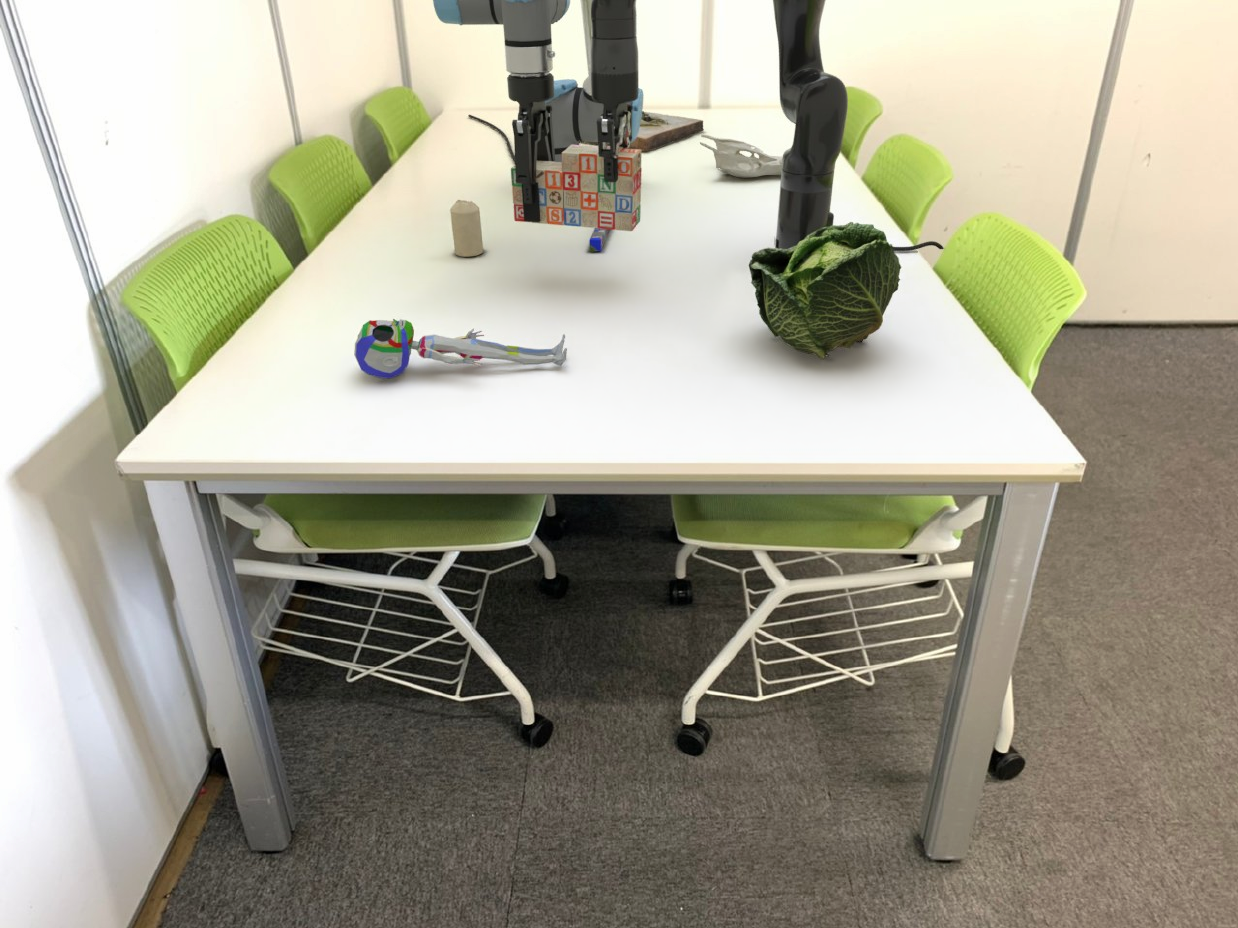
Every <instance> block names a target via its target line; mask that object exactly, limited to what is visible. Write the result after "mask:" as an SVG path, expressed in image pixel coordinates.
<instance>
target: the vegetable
mask: <svg viewBox="0 0 1238 928" xmlns="http://www.w3.org/2000/svg"><path fill="white" fill-rule="evenodd" d="M894 247H895V246H894V245H893V243H889V241H888V239H887V235H886V232H884V231H883V230H880V229H878V228H876V227H875V225H874V224H871V223H869V224H868V223H859V222H855V223H854V222H853V221H850V222H848V223H845V224H840V225H836V224H835V225H834V224H833V226H829V227H824V228H820V229H818V230H817V231H815V232H813V233H811V234H809V235H808V236H806V237H805V239H804V240H802V241H800V242H799V243H798V245H796V246H794V247H791V248H789V249H781V248H775V247H766V248H762V249H759V250H758V251H756V252H753V253H752V255H751V259H750V260H749V263H748V269H749V272H750V273H749V274H750V278H751V282H750V283H751V285H752V286H753V288H755V292H754V296H755V299H756V302H757V304H756V306H757V307H758V309H759V310H758V314H759V316H760V318H761V320H762V322H763V323H764V324H765V325H766V326H767V328H768V329H769V331H770V332H771V334H772V335H773V336H774V337H775V338H776V337H779V338H780V339H781V340H782V341H783V342H784V343H785V345H786V344H787V345H788V346H789V347H791V348H793V349H794V350H796V351H798V352H802V353H806V354H812V355H815V356H817V357H818V358H819V359H821V360H824V358H825V357H830V354H829V352H831V351H833V350H834V349H836V347H844V348H846V349H850V348H851V347H852V346H853V345H854V344H858V343H863V342H864V341H865V340H866V339H868V338H869V336H870V335H871V334H874V333H876V332H877V331H878V330H879V329H880V328H881V326H882V324H883V322H884V317H883V316H884V314H885V313H886V311H887V308H888V306H889V304H890V302H891V300H892V298H893V295H894V293H895V292H897V291H898V290H899V285H900V284H899V281H901V278H900V273H901V269H902V266H901V264H900V259H899V256H897V254H896V253H895V251H894Z"/></svg>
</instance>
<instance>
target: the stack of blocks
mask: <svg viewBox="0 0 1238 928" xmlns="http://www.w3.org/2000/svg"><path fill="white" fill-rule="evenodd" d="M607 149H610V146H607ZM598 152H599V151H598V145H585V144H579V145H570V146H569V147H568V148H567V149H566V150H565V151H563V152H562V162H553V161H537V163H536V183H538V188H539V204H540V220H541V221H540V222H531V223H532V224H542V225H555V226H568V227H579V228H580V227H581V228H593V229H595V228H601V229H610V231H611V230H612V231H613V230H614V231H623V232H634V230H635V229H636V226H638V224H639V223H640V222H641V207H642V205H641V201H642V200H641V198H642V197H641V196H642V151H641V149H629V148H623V147H619V151H618V180H617V181H616V182H606V181H605V180H604V158H602V157H599V154H598ZM510 178H511V187H512V189H511V190H512V203H513V220H514V222H521V223H527V222H526V221H524V211H523V197H522V184H517V183H516V181H515V179H516V172H515V165H513V166H512V167H511V168H510Z"/></svg>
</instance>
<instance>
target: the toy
mask: <svg viewBox="0 0 1238 928" xmlns="http://www.w3.org/2000/svg"><path fill="white" fill-rule="evenodd" d="M474 331H475V328H472V329H471V330H469V331H468V332H467V333H466V334H465V335H463V336H458V337H449V336H448V337H447V336H442V335H439V334H428V335H423V336H421V338H420V339H419V341H417V340H414V336H415V329H414V326H413V324H412V322H410V321H408V320H407V319H399V320H397V319H395V318H392V320H387V319H379V320H368V321H367V322H365V323H364V324H362V326H361V329H360V331H359V333H358V334H357V338H356V340H355V342H354V354H353V355H354V357H355V359H356V362H357V364H358V366H359V369H360V370H361V372H364V373H366V374H367V375H370V376H373V377H377V378H382V379H383V378H384V379H392V378H394V377H396V376H398V375H400V374H401V375H402V374H403V372H404V371H405V370H406V368H407V367H408V366H409V364H410V357H411V355H412V350H415V351H417V353H418V356H419V357H421V358H422V359H430V360H434V361H438V362H442V363H444V364H449V365H458V364H459V365H461V364H465V365H471V366H477V367H479V368H480V367H481V366H482V365H483V363H482V362H478V361H480V360H482V359H487V360H488V359H489V360H503V361H509V362H514V363H517V364H520V365H528V366H529V365H542V364H550V363H553V364H555V365H557V366H559V367H562V366H563V364H564V362H565V361H566V360H567V357H568V355H567V353H568V348H566V347H565V348H564V345H565V340H566V334H565V333H563V334H562V338H561V340H560V341H559V343H558V344H556V345H555V346H554V347H552V348H533V347H532V348H531V347H523V346H518V345H517V346H516V345H504V344H501V343H498V342H494V341H488V340H482V339H478V338H479V337H480V338H481V337H485V334H480V333H482V332H483V331H482V330H479V331H476V332H474ZM563 349H564V350H563ZM453 353H455V354H457V355H459V357H458V356H455V355H448V354H453ZM445 354H447V355H445Z"/></svg>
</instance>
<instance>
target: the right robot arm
mask: <svg viewBox="0 0 1238 928" xmlns="http://www.w3.org/2000/svg"><path fill="white" fill-rule="evenodd" d="M826 1H827V0H772V6H773V16H774V22H775V29H776V37H777V45H778V46H777V47H778V73H779V74H778V76H779V78H778V81H779V82H778V84H779V87H778V89H779V103H780V107H781V110H782V112H783V114H784V116H785V117H786V119H787V120H789V122H791V123H792V124H794V125H795V126H794V134H793V141H792V145H791V147H790V148H787V149H786V150H785V151H784V152H783V154H782V157H783V158H782V170H781V175H780V183H779V194H778V195H779V197H778V206H777V207H778V208H777V221H776V233H775V237H774V238H773V239H774V240H773V246H774V248H781V249H789V248H791V247H794V246H796V245H798V243H799V242H800V241H802V240H804V239H805V237H806V236H808V235H809V234H811V233H813V232H815V231H817V230H818V229H820V228H824V227H829V226H833V225H834V219H835V215H834V213H833V212H831V206H832V205H831V204H832V195H833V185H834V178H835V169H836V161H837V160H838V158H839V156H840V155H841V151H842V147H843V141H844V135H845V129H846V124H847V118H848V117H847V116H848V107H849V105H848V104H849V96H848V91H847V87H846V85H845V83H844V82H843V80H841V79H840V78H839V77H837V76H836V75H834V74H831V73H828V72H826V71H825V70H824V64H823V60H822V59H823V58H822V52H821V51H822V50H821V42H820V41H821V40H820V29H821V22H822V17H823V13H824V9H825V5H826ZM637 16H638V15H637V0H592V4H591V36H592V37H591V51H590V60H591V92H592V99H593V100H594V101H595V102H598V103H599V102H601V103H602V104H603V106H604V108H603V114H601V118H598V119H597V134H598V144H597V146H598V151H599V152H598V154H599V157H602V158H604V180H605V181H606V182H616V181H617V180H618V151H619V147H623V148H629V146H630V142H629V141H632V112H633V105H632V104H628V103H630V102H633V101H635V100H637V99H638V96H639V89H640V88H639V45H638V37H637V34H638V33H637V31H638V28H637V24H638V23H637V18H638V17H637ZM608 144H610V149H607V145H608ZM930 246H933V247H936V248H938V250H944V249H945V248H944V246H943V245H942V244H940V243H939V242H937V241H935V240H934V241H933V240H932V241H931V240H930V241H925V242H921V243H918V244H915V245H912V246H893V247H894V252H910V251H915V250H918V249H919V250H920V249H922V248H925V247H930Z"/></svg>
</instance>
